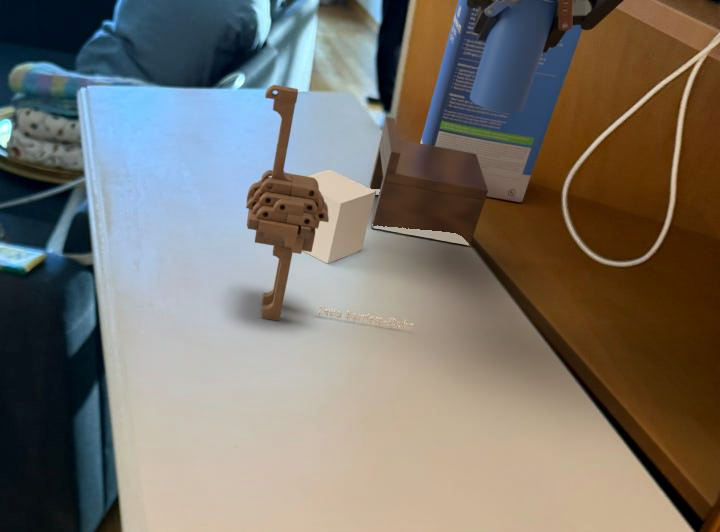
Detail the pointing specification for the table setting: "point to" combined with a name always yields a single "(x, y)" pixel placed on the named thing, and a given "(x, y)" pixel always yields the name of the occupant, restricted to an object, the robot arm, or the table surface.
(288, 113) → the brown mechanical linkage
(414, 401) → the table surface
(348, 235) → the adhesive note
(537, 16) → the blue cylinder
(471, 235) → the dark brown wooden box
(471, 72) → the string lights box
